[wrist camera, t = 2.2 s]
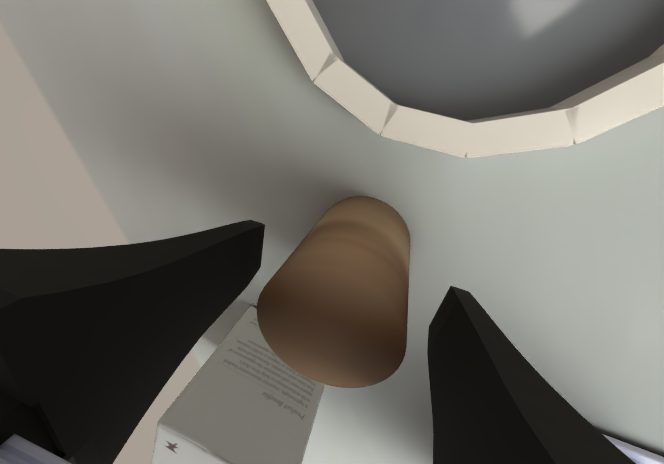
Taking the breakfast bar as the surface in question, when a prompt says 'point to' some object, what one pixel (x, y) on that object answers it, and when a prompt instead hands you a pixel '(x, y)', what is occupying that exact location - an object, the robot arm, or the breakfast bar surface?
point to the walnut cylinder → (342, 297)
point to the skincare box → (240, 407)
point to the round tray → (483, 67)
